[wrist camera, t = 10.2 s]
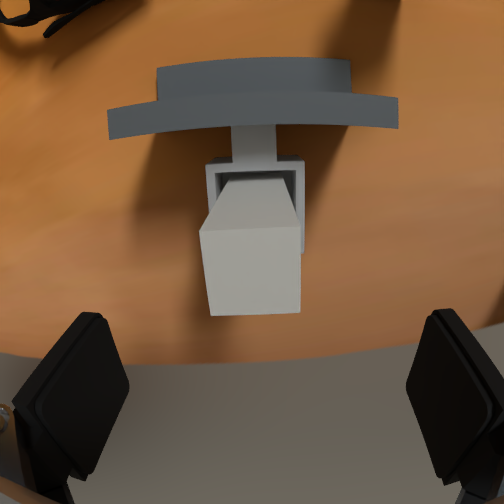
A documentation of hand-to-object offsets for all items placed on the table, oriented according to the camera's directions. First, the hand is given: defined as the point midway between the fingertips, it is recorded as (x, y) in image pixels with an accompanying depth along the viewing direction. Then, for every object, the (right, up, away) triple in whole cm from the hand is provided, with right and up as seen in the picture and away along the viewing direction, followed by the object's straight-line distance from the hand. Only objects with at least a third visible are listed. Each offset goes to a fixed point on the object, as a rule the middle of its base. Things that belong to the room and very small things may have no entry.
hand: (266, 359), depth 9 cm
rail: (0, +7, +18) cm, 19 cm away
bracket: (0, +14, +20) cm, 25 cm away
